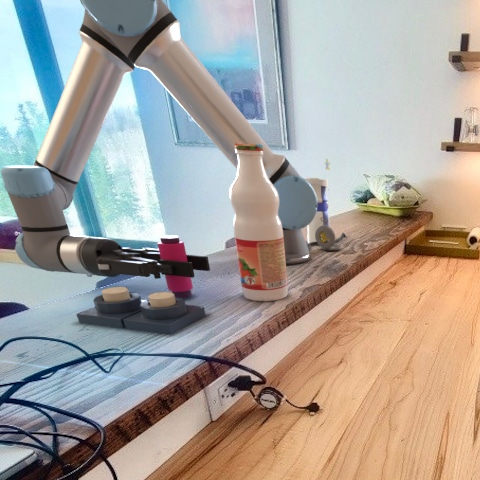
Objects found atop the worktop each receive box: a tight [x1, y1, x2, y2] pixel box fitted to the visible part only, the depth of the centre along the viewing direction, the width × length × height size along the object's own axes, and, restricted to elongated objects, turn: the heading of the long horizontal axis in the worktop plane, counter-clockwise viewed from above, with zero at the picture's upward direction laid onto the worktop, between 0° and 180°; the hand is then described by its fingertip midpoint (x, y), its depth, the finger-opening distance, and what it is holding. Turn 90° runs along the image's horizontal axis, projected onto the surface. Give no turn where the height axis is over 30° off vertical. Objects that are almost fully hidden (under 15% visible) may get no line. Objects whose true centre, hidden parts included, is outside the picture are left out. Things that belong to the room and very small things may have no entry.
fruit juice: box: [229, 143, 289, 302], centre depth 84 cm, size 9×9×28 cm
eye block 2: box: [123, 297, 206, 335], centre depth 75 cm, size 10×8×4 cm
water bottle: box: [303, 158, 331, 244], centre depth 137 cm, size 8×9×25 cm
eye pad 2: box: [147, 291, 176, 307], centre depth 73 cm, size 4×4×2 cm
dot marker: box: [156, 234, 194, 299], centre depth 84 cm, size 5×5×12 cm
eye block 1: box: [76, 291, 147, 329], centre depth 76 cm, size 10×8×4 cm
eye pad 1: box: [101, 286, 130, 302], centre depth 75 cm, size 4×4×2 cm
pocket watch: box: [315, 217, 343, 252], centre depth 132 cm, size 8×8×10 cm
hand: (199, 266), depth 83 cm, fingers closed on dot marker, 5 cm apart
